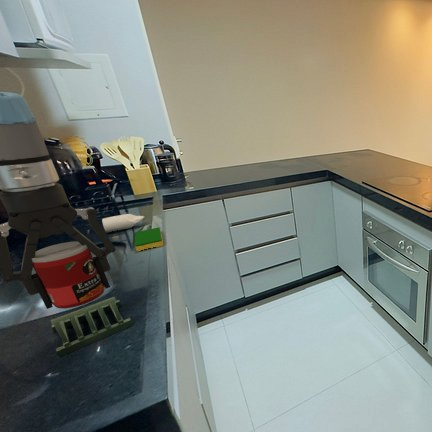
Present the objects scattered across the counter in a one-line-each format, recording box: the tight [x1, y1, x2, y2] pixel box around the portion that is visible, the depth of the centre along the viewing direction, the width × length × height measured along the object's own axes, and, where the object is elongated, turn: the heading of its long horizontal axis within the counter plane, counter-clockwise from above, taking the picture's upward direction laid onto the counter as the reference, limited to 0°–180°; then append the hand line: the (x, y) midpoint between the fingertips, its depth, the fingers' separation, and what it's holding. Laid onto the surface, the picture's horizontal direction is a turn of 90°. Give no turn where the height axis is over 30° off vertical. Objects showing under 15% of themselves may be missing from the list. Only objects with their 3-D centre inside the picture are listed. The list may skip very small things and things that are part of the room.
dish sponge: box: [134, 227, 164, 252], centre depth 102 cm, size 7×14×2 cm, turn 38°
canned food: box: [32, 241, 105, 309], centre depth 58 cm, size 8×8×11 cm
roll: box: [101, 213, 145, 234], centre depth 112 cm, size 6×12×6 cm, turn 127°
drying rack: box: [50, 296, 133, 358], centre depth 61 cm, size 11×11×8 cm
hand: (79, 294), depth 60 cm, fingers closed on canned food, 8 cm apart
